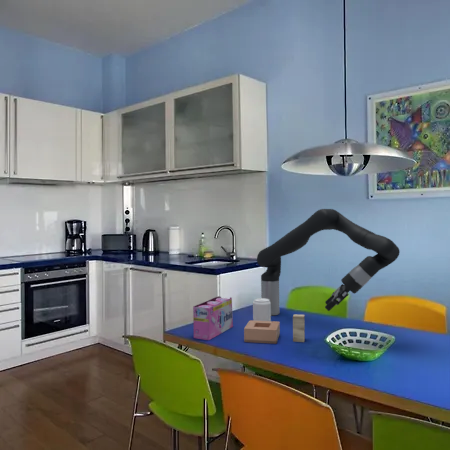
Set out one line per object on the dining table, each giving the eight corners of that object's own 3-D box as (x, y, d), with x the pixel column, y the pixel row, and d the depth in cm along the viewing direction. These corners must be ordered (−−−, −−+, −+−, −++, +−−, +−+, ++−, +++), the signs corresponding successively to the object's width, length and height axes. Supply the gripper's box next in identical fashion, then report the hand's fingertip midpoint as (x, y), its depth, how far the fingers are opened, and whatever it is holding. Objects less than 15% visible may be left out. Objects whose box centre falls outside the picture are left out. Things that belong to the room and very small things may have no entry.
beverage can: (264, 328, 191) (264, 302, 190) (249, 326, 196) (249, 300, 195) (274, 324, 197) (273, 299, 197) (259, 322, 202) (259, 297, 202)
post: (293, 338, 177) (293, 314, 176) (304, 338, 176) (304, 314, 175) (293, 341, 172) (292, 317, 172) (304, 342, 171) (303, 317, 171)
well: (249, 332, 185) (249, 320, 185) (279, 334, 182) (279, 321, 182) (244, 341, 173) (244, 328, 172) (276, 343, 170) (276, 330, 169)
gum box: (219, 324, 200) (219, 295, 200) (234, 326, 197) (234, 296, 196) (193, 338, 179) (192, 306, 179) (209, 340, 175) (208, 307, 175)
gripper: (348, 269, 175) (320, 296, 178) (350, 274, 161) (319, 303, 164) (361, 282, 174) (333, 309, 177) (365, 289, 160) (333, 318, 163)
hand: (326, 306), depth 171 cm, fingers open, 8 cm apart
